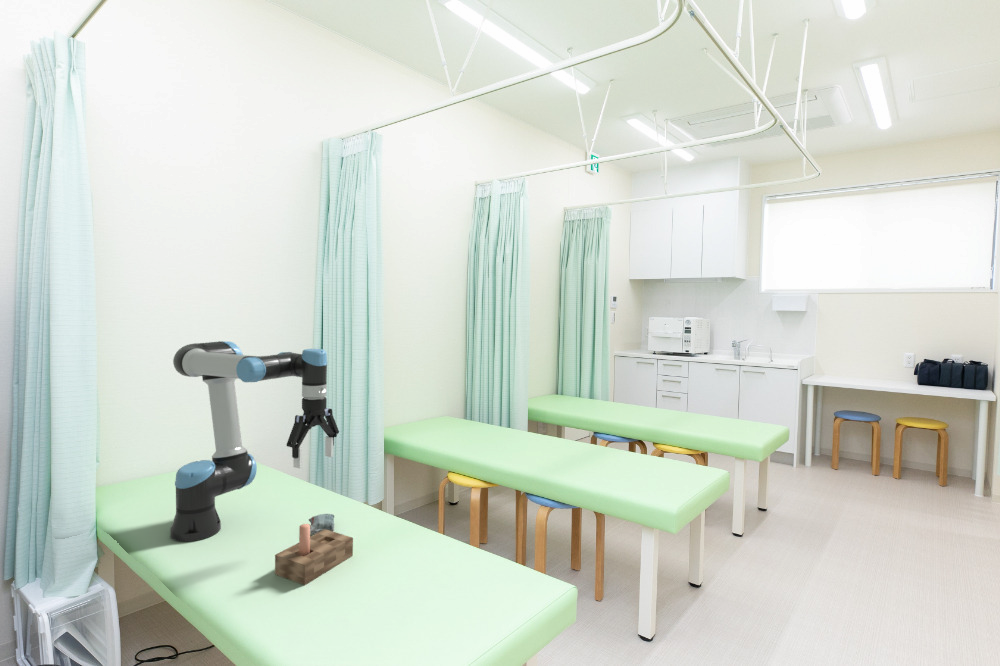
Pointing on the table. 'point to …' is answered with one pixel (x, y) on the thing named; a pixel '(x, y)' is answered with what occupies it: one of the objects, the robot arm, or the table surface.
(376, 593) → the table surface
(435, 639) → the table surface
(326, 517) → the packaged food
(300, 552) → the dowel
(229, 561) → the table surface
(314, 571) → the bore block
